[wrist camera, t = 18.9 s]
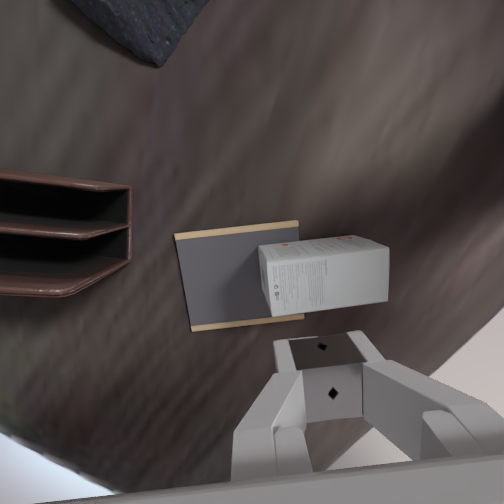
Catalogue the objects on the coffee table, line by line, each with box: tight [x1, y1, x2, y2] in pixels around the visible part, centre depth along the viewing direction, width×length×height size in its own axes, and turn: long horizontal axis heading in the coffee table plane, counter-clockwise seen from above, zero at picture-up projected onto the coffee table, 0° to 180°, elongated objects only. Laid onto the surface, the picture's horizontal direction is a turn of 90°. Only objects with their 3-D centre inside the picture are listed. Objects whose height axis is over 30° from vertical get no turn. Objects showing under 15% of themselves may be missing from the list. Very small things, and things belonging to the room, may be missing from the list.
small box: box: [258, 235, 389, 317], centre depth 30 cm, size 8×6×13 cm
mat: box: [174, 220, 304, 332], centre depth 34 cm, size 16×14×1 cm
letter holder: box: [0, 168, 133, 297], centre depth 25 cm, size 10×20×14 cm, turn 83°
